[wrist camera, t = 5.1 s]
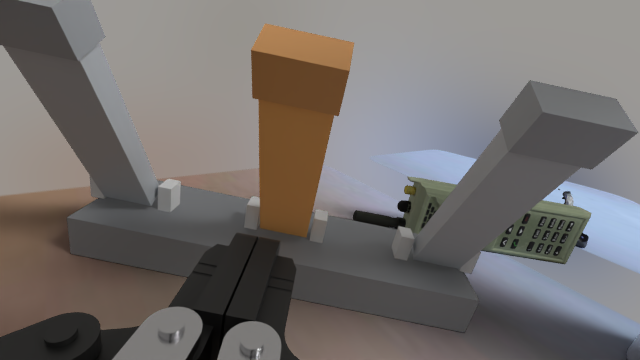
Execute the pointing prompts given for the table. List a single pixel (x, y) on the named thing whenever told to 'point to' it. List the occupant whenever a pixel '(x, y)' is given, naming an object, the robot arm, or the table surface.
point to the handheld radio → (518, 240)
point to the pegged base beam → (307, 252)
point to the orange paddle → (295, 119)
